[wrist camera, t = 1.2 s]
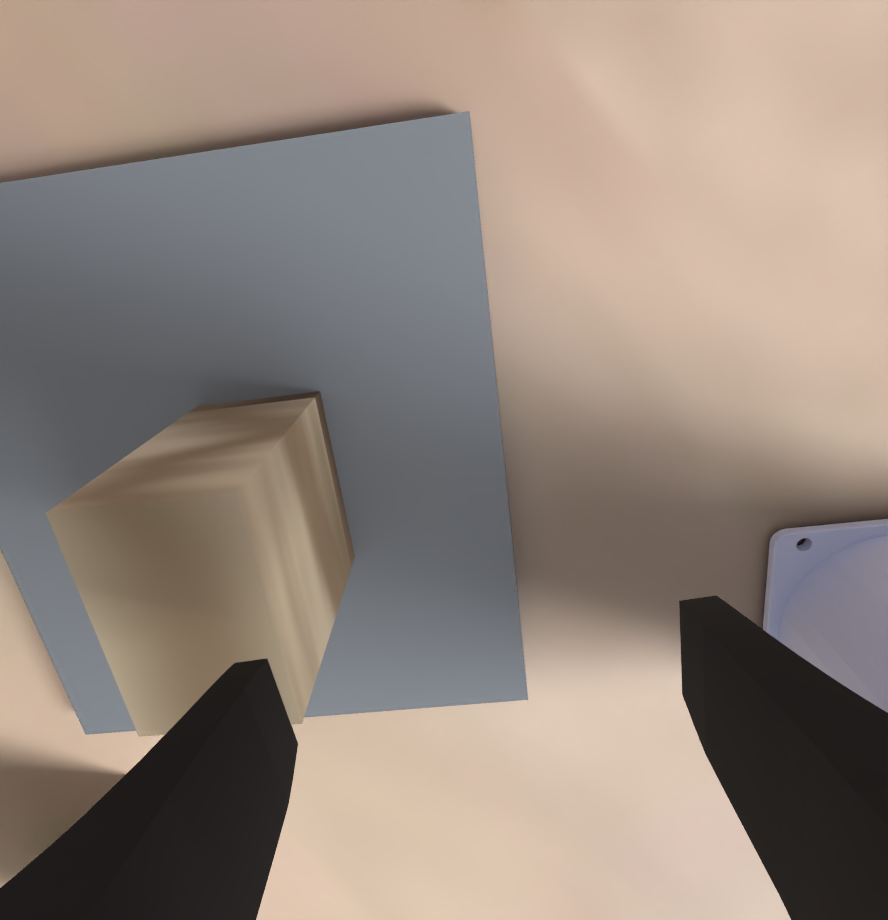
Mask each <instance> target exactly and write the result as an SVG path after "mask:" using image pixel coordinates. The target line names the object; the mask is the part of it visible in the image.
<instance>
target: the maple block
mask: <svg viewBox="0 0 888 920" xmlns="http://www.w3.org/2000/svg"><path fill="white" fill-rule="evenodd" d="M46 515H47V517H48V520H49V522H50V524H51V527H52V529H53V532H54V534H55V536H56V539H57V541H58V544H59V546H60V548H61V551H62V553H63V556H64V558H65V560H66V563H67V565H68V568H69V570H70V573H71V575H72V577H73V580H74V582H75V585H76V587H77V589H78V592H79V594H80V597H81V599H82V601H83V604H84V606H85V609H86V611H87V613H88V616H89V618H90V621H91V623H92V625H93V628H94V630H95V633H96V635H97V637H98V640H99V642H100V645H101V647H102V649H103V652H104V654H105V657H106V659H107V661H108V664H109V666H110V669H111V671H112V673H113V676H114V678H115V681H116V683H117V685H118V688H119V690H120V693H121V695H122V697H123V700H124V702H125V705H126V707H127V709H128V712H129V714H130V717H131V719H132V721H133V724H134V726H135V729H136V731H137V733H138V736H151V735H164V734H166V733H167V732H168V731H169V730H170V729H171V728H172V727H173V726H174V725H175V724H176V723H177V722H178V721H179V720H180V719H181V718H182V717H183V715H184V714H185V713H186V712H187V711H188V710H189V709H190V708H191V707H192V706H193V705H194V704H195V703H196V702H197V701H198V700H199V698H200V697H201V696H202V695H203V694H204V693H205V692H206V691H207V690H208V689H209V688H210V687H211V686H212V685H213V684H214V683H215V682H216V681H217V680H218V678H219V677H220V676H221V675H222V674H223V673H224V672H225V671H226V670H227V669H229V668H230V667H231V666H232V665H233V664H234V663H237V662H244V661H251V660H258V659H266V658H267V659H268V662H269V665H270V667H271V670H272V673H273V676H274V679H275V681H276V684H277V687H278V690H279V692H280V695H281V698H282V701H283V704H284V706H285V709H286V712H287V715H288V718H289V720H290V723H291V725H292V724H302V721H303V718H304V715H305V712H306V709H307V706H308V703H309V699H310V696H311V693H312V690H313V687H314V684H315V681H316V678H317V674H318V671H319V668H320V665H321V662H322V659H323V656H324V652H325V649H326V646H327V643H328V640H329V637H330V634H331V630H332V627H333V624H334V621H335V618H336V615H337V612H338V608H339V605H340V602H341V599H342V596H343V593H344V590H345V587H346V583H347V580H348V577H349V574H350V571H351V568H352V565H353V561H354V558H355V554H354V550H353V545H352V540H351V535H350V531H349V526H348V521H347V516H346V512H345V507H344V502H343V497H342V493H341V488H340V483H339V479H338V474H337V469H336V464H335V460H334V455H333V450H332V445H331V441H330V436H329V431H328V427H327V422H326V417H325V412H324V408H323V403H322V398H321V393H320V391H319V392H310V393H302V394H294V395H285V396H277V397H268V398H260V399H252V400H243V401H235V402H227V403H218V404H210V405H202V406H197V407H195V408H194V409H192V410H191V411H190V412H188V413H187V414H185V415H184V416H182V417H181V418H180V419H178V420H177V421H175V422H174V423H173V424H171V425H170V426H168V427H167V428H165V429H164V430H163V431H161V432H160V433H158V434H157V435H156V436H154V437H153V438H151V439H150V440H148V441H147V442H146V443H144V444H143V445H141V446H140V447H139V448H137V449H136V450H134V451H133V452H131V453H130V454H129V455H127V456H126V457H124V458H123V459H122V460H120V461H119V462H117V463H116V464H114V465H113V466H112V467H110V468H109V469H107V470H106V471H105V472H103V473H102V474H100V475H99V476H97V477H96V478H95V479H93V480H92V481H90V482H89V483H87V484H86V485H85V486H83V487H82V488H80V489H79V490H78V491H76V492H75V493H73V494H72V495H70V496H69V497H68V498H66V499H65V500H63V501H62V502H61V503H59V504H58V505H56V506H55V507H53V508H52V509H51V510H49V511H48V512H46Z"/></svg>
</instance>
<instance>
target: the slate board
mask: <svg viewBox="0 0 888 920" xmlns="http://www.w3.org/2000/svg"><path fill="white" fill-rule="evenodd" d="M319 391H320V393H321V398H322V403H323V408H324V412H325V417H326V422H327V427H328V431H329V436H330V441H331V445H332V450H333V455H334V460H335V464H336V469H337V474H338V479H339V483H340V488H341V493H342V497H343V502H344V507H345V512H346V516H347V521H348V526H349V531H350V535H351V540H352V545H353V550H354V554H355V558H354V561H353V565H352V568H351V571H350V574H349V577H348V580H347V583H346V587H345V590H344V593H343V596H342V599H341V602H340V605H339V608H338V612H337V615H336V618H335V621H334V624H333V627H332V630H331V634H330V637H329V640H328V643H327V646H326V649H325V652H324V656H323V659H322V662H321V665H320V668H319V671H318V674H317V678H316V681H315V684H314V687H313V690H312V693H311V696H310V699H309V703H308V706H307V709H306V712H305V715H304V717H315V716H328V715H340V714H353V713H366V712H378V711H391V710H404V709H416V708H429V707H442V706H454V705H467V704H480V703H492V702H505V701H518V700H528V694H527V684H526V674H525V664H524V654H523V644H522V634H521V624H520V614H519V604H518V594H517V584H516V574H515V563H514V553H513V543H512V533H511V523H510V513H509V503H508V493H507V483H506V473H505V463H504V453H503V443H502V433H501V423H500V413H499V403H498V393H497V383H496V373H495V363H494V352H493V342H492V332H491V322H490V312H489V302H488V292H487V282H486V272H485V262H484V252H483V242H482V232H481V222H480V212H479V202H478V192H477V182H476V172H475V162H474V152H473V142H472V131H471V121H470V111H468V112H461V113H455V114H448V115H442V116H435V117H429V118H422V119H415V120H409V121H402V122H396V123H389V124H383V125H376V126H369V127H363V128H356V129H350V130H343V131H337V132H330V133H324V134H317V135H310V136H304V137H297V138H291V139H284V140H278V141H271V142H265V143H258V144H251V145H245V146H238V147H232V148H225V149H219V150H212V151H206V152H199V153H192V154H186V155H179V156H173V157H166V158H160V159H153V160H146V161H140V162H133V163H127V164H120V165H114V166H107V167H101V168H94V169H87V170H81V171H74V172H68V173H61V174H55V175H48V176H42V177H35V178H28V179H22V180H15V181H9V182H2V183H0V549H1V551H2V553H3V555H4V557H5V560H6V562H7V564H8V566H9V568H10V570H11V573H12V575H13V577H14V579H15V581H16V584H17V586H18V588H19V590H20V592H21V594H22V597H23V599H24V601H25V603H26V605H27V608H28V610H29V612H30V614H31V616H32V618H33V621H34V623H35V625H36V627H37V629H38V632H39V634H40V636H41V638H42V640H43V642H44V645H45V647H46V649H47V651H48V653H49V656H50V658H51V660H52V662H53V664H54V667H55V669H56V671H57V673H58V675H59V677H60V680H61V682H62V684H63V686H64V688H65V691H66V693H67V695H68V697H69V699H70V701H71V704H72V706H73V708H74V710H75V712H76V715H77V717H78V719H79V721H80V723H81V725H82V728H83V730H84V732H85V734H86V735H87V734H99V733H112V732H125V731H136V729H135V726H134V724H133V721H132V719H131V717H130V714H129V712H128V709H127V707H126V705H125V702H124V700H123V697H122V695H121V693H120V690H119V688H118V685H117V683H116V681H115V678H114V676H113V673H112V671H111V669H110V666H109V664H108V661H107V659H106V657H105V654H104V652H103V649H102V647H101V645H100V642H99V640H98V637H97V635H96V633H95V630H94V628H93V625H92V623H91V621H90V618H89V616H88V613H87V611H86V609H85V606H84V604H83V601H82V599H81V597H80V594H79V592H78V589H77V587H76V585H75V582H74V580H73V577H72V575H71V573H70V570H69V568H68V565H67V563H66V560H65V558H64V556H63V553H62V551H61V548H60V546H59V544H58V541H57V539H56V536H55V534H54V532H53V529H52V527H51V524H50V522H49V520H48V517H47V515H46V512H48V511H49V510H51V509H52V508H53V507H55V506H56V505H58V504H59V503H61V502H62V501H63V500H65V499H66V498H68V497H69V496H70V495H72V494H73V493H75V492H76V491H78V490H79V489H80V488H82V487H83V486H85V485H86V484H87V483H89V482H90V481H92V480H93V479H95V478H96V477H97V476H99V475H100V474H102V473H103V472H105V471H106V470H107V469H109V468H110V467H112V466H113V465H114V464H116V463H117V462H119V461H120V460H122V459H123V458H124V457H126V456H127V455H129V454H130V453H131V452H133V451H134V450H136V449H137V448H139V447H140V446H141V445H143V444H144V443H146V442H147V441H148V440H150V439H151V438H153V437H154V436H156V435H157V434H158V433H160V432H161V431H163V430H164V429H165V428H167V427H168V426H170V425H171V424H173V423H174V422H175V421H177V420H178V419H180V418H181V417H182V416H184V415H185V414H187V413H188V412H190V411H191V410H192V409H194V408H195V407H197V406H202V405H210V404H218V403H227V402H235V401H243V400H252V399H260V398H268V397H277V396H285V395H294V394H302V393H310V392H319Z"/></svg>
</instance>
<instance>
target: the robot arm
mask: <svg viewBox="0 0 888 920" xmlns="http://www.w3.org/2000/svg"><path fill="white" fill-rule="evenodd" d="M803 538H806V540H805V542H804V543H803V544H802V545H798V546H796V545H797V542H798V541H799V540H801V539H803ZM679 602H680V633H681V664H682V694H683V697H684V700H685V702H686V705H687V708H688V710H689V713H690V716H691V718H692V721H693V724H694V726H695V729H696V731H697V734H698V736H699V739H700V741H701V744H702V746H703V749H704V751H705V754H706V756H707V758H708V760H709V761H710V763H711V765H712V767H713V769H714V771H715V773H716V775H717V777H718V779H719V781H720V783H721V785H722V787H723V789H724V790H725V792H726V794H727V796H728V798H729V800H730V802H731V804H732V806H733V808H734V810H735V812H736V813H737V815H738V817H739V819H740V821H741V823H742V825H743V827H744V829H745V831H746V832H747V834H748V836H749V838H750V840H751V842H752V844H753V846H754V848H755V849H756V851H757V853H758V855H759V857H760V859H761V861H762V863H763V865H764V867H765V868H766V870H767V872H768V874H769V876H770V878H771V880H772V882H773V884H774V886H775V887H776V889H777V891H778V893H779V895H780V897H781V899H782V901H783V903H784V905H785V907H786V910H787V912H788V914H789V916H790V918H791V920H888V519H880V520H870V521H860V522H849V523H839V524H829V525H818V526H808V527H798V528H787V529H782V530H779V531H778V532H776V533H775V534H774V535H773V536H772V537H771V540H770V545H769V557H768V570H767V582H766V595H765V607H764V620H763V629H762V628H760V627H759V626H757V625H756V624H755V623H753V622H752V621H751V620H749V619H748V618H746V617H745V616H744V615H742V614H741V613H740V612H738V611H737V610H736V609H734V608H733V607H731V606H730V605H729V604H727V603H726V602H725V601H723V600H722V599H720V598H719V597H717V596H711V597H704V598H696V599H689V600H682V601H679ZM297 747H298V743H297V740H296V737H295V734H294V731H293V729H292V726H291V723H290V720H289V718H288V715H287V712H286V709H285V706H284V704H283V701H282V698H281V695H280V692H279V690H278V687H277V684H276V681H275V679H274V676H273V673H272V670H271V667H270V665H269V662H268V659H267V658H266V659H258V660H251V661H244V662H237V663H234V664H233V665H232V666H231V667H230V668H229V669H227V670H226V671H225V672H224V673H223V674H222V675H221V676H220V677H219V678H218V680H217V681H216V682H215V683H214V684H213V685H212V686H211V687H210V688H209V689H208V690H207V691H206V692H205V693H204V694H203V695H202V696H201V697H200V698H199V700H198V701H197V702H196V703H195V704H194V705H193V706H192V707H191V708H190V709H189V710H188V711H187V712H186V713H185V714H184V715H183V717H182V718H181V719H180V720H179V721H178V722H177V723H176V724H175V725H174V726H173V727H172V728H171V729H170V730H169V731H168V732H167V733H166V734H165V735H164V736H163V737H162V738H161V740H160V741H159V742H158V743H157V744H156V745H155V746H154V747H153V748H152V749H151V750H150V751H149V752H148V753H147V754H146V755H145V756H144V757H143V758H142V759H141V760H140V761H139V762H138V763H137V764H136V765H135V766H134V767H133V768H132V769H131V770H130V771H129V772H128V773H127V774H126V775H125V776H124V777H123V778H122V779H121V780H120V781H119V782H118V783H117V784H116V785H115V786H114V787H113V788H112V789H111V790H110V791H109V792H108V793H107V794H105V795H104V796H103V797H102V798H101V799H100V800H99V801H98V802H97V803H96V804H95V805H94V806H93V807H92V808H91V809H90V810H89V811H88V812H87V813H86V814H85V815H84V816H83V817H82V818H81V819H80V820H78V821H77V822H76V823H75V824H74V825H73V826H72V827H71V828H70V829H69V830H68V831H66V832H65V833H64V834H63V835H62V836H61V837H60V838H59V839H57V840H56V841H55V842H54V843H53V844H52V845H51V846H50V847H48V848H47V849H46V850H45V851H44V852H43V853H41V854H40V855H39V856H38V857H37V858H36V859H34V860H33V861H32V862H31V863H30V864H29V865H27V866H26V867H25V868H24V869H23V870H22V871H20V872H19V873H18V874H17V875H16V876H15V877H13V878H12V879H11V880H10V881H8V882H7V883H6V884H5V885H4V886H2V887H1V888H0V920H256V917H257V914H258V910H259V907H260V903H261V900H262V897H263V893H264V890H265V886H266V883H267V879H268V876H269V872H270V869H271V865H272V862H273V858H274V855H275V851H276V847H277V844H278V840H279V837H280V833H281V829H282V826H283V822H284V819H285V815H286V811H287V807H288V804H289V798H290V792H291V786H292V781H293V774H294V767H295V761H296V754H297Z"/></svg>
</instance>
